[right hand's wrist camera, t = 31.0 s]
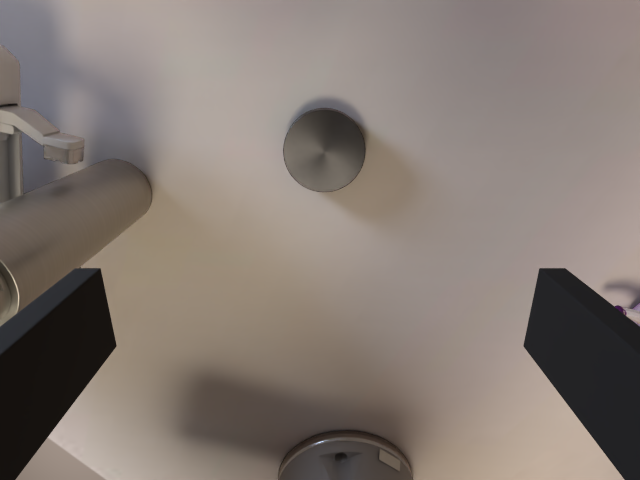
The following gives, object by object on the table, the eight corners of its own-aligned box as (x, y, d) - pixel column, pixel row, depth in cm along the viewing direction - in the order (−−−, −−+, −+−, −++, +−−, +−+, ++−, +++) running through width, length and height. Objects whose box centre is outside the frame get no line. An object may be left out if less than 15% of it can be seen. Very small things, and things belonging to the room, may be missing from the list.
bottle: (92, 149, 34) (-134, 228, 17) (158, 172, 35) (3, 270, 18) (82, 209, 36) (-130, 332, 19) (144, 229, 37) (-6, 366, 20)
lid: (364, 184, 35) (366, 189, 34) (289, 189, 36) (287, 194, 34) (361, 104, 33) (363, 106, 31) (280, 110, 33) (279, 113, 32)
